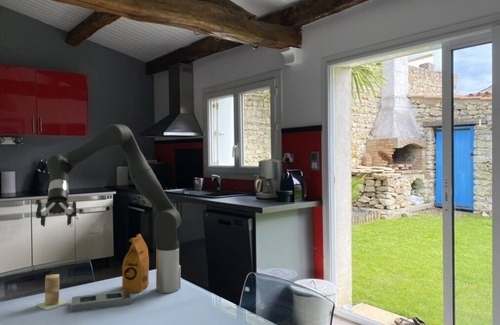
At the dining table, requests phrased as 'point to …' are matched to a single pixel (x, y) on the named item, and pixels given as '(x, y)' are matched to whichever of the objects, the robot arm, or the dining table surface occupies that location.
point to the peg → (52, 289)
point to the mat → (42, 305)
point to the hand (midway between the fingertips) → (56, 224)
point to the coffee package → (136, 266)
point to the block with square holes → (100, 301)
